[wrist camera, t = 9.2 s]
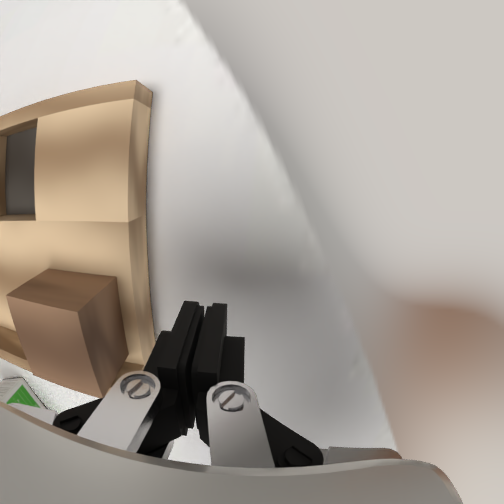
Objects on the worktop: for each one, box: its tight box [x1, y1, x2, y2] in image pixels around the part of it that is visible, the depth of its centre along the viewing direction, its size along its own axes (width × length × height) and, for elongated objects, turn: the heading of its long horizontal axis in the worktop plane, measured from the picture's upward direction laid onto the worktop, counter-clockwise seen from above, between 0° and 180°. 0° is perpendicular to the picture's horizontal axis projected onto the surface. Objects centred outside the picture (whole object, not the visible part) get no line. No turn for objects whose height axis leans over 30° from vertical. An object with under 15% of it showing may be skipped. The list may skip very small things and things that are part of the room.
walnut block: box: [6, 268, 129, 398], centre depth 12 cm, size 5×5×4 cm
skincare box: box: [0, 378, 46, 409], centre depth 13 cm, size 8×7×16 cm
